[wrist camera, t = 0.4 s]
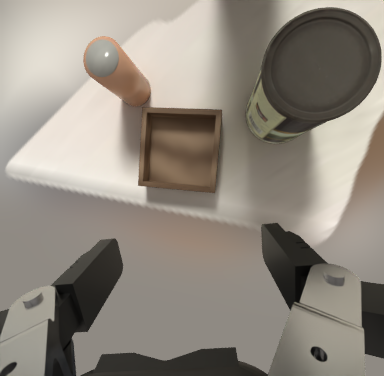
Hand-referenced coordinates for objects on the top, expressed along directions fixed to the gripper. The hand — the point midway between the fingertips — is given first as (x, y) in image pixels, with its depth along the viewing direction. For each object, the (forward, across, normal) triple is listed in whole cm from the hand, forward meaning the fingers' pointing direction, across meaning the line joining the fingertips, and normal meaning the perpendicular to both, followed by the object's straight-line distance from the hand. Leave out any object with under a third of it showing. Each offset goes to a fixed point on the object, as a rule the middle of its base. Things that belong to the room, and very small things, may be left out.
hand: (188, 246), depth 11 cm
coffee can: (+25, -14, -8) cm, 30 cm away
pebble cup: (+28, +9, -16) cm, 34 cm away
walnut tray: (+26, +2, -4) cm, 26 cm away
